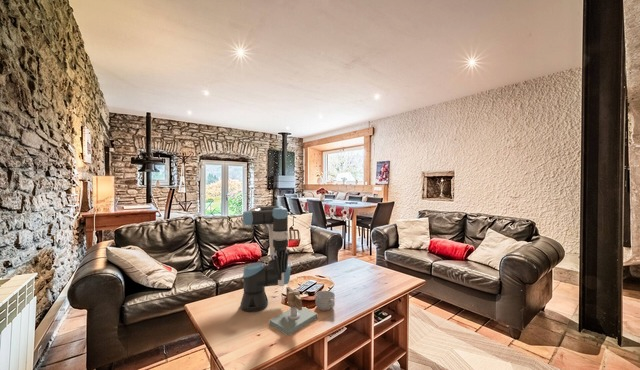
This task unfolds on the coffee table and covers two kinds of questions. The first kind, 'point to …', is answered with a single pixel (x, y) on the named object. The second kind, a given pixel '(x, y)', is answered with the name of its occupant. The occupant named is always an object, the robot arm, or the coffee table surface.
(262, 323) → the coffee table surface
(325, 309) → the teacup
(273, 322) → the grey-green base
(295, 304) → the knob
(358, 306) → the coffee table surface
